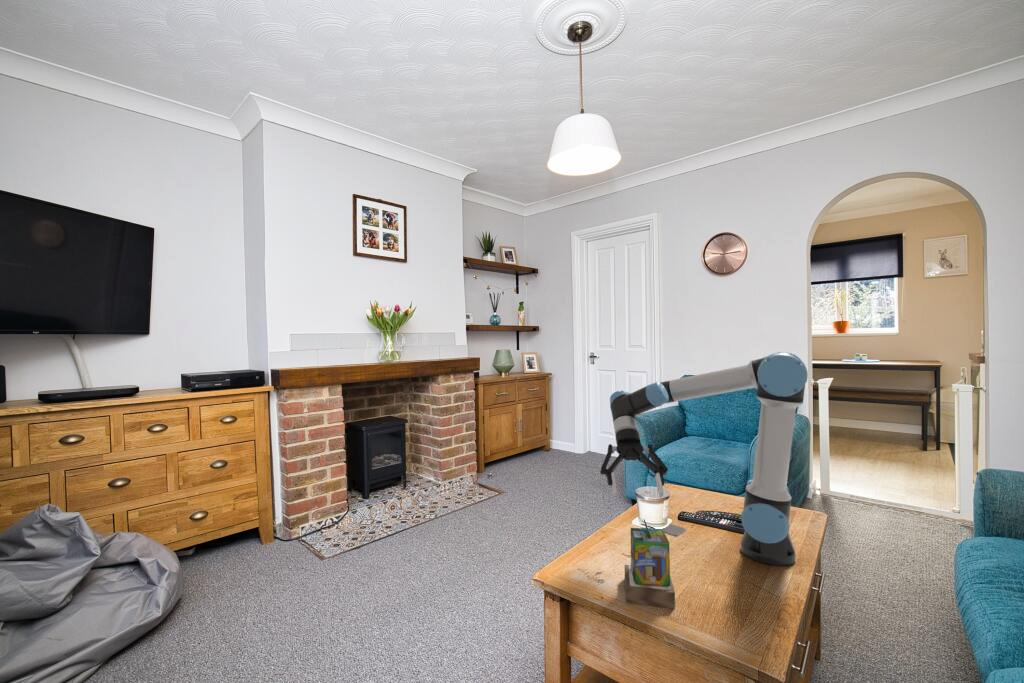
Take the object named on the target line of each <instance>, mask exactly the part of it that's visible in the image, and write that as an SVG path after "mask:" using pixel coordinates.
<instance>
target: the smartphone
mask: <svg viewBox="0 0 1024 683" xmlns="http://www.w3.org/2000/svg"><path fill="white" fill-rule="evenodd" d="M662 530H663V532H664V533H665V532H666V534H668V533H669V534H668V535H671V534H672V535H671V536H674V535H675V536H674V537H679V536H680V534H681V535H682V533H683V532H684V531H687V528H685V527H682V526H679V525H676V524H672V523H670V525H669V526H668V527H666V528H663V529H662ZM684 533H685V532H684ZM684 533H683V534H684ZM678 535H679V536H678Z"/></svg>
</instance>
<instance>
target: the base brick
mask: <svg viewBox="0 0 1024 683" xmlns="http://www.w3.org/2000/svg"><path fill="white" fill-rule="evenodd" d="M624 589H625V600H626V602H625V603H626V604H634V605H642V606H652V607H661V608H668V609H676V593H675V589H674V584H673V581H672V576H671V575H670V586H663V585H645V584H635V582H634V579H633V575H632V571H631V564H624Z"/></svg>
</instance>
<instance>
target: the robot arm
mask: <svg viewBox="0 0 1024 683" xmlns="http://www.w3.org/2000/svg"><path fill="white" fill-rule="evenodd" d="M807 369H808V368H807V367H806V365H805V364H804V362H803V360H802V359H801V358H800V357H799V356H797V355H796V354H793V353H791V352H787V351H780V352H779V351H777V352H775V353H772V354H768V355H767V356H765V357H762V358H758V359H753V360H750V361H749V362H748V364H744V365H741V366H740V365H739V366H736V367H731V368H725V369H721V370H715V371H709V372H706V373H701V374H696V375H691V376H690V375H689V376H685V377H680V378H675V379H672V380H666V381H656V382H654V383H649V384H647V385H646V386H644V387H641V388H639V389H638V390H635V391H633V392H631V393H630V392H629V391H626V390H620V391H619V390H616V391H615V392H614V391H613V393H612V394H611V395H610V397H609V404H610V412H611V417H612V422H613V429H614V434H615V442H616V446H615V445H612V444H611V443H610V444H608V446H607V453H606V454H605V455H606V456H605V458H604V460H603V463H602V465H601V468H600V472H599V474H600V475H605V477H606V480H607V485H608V486H611V490H612V491H611V492H612V497H613V498H616V497H617V494H618V490H617V484H616V478H615V472H614V471H615V470H616V468H617V467H619V465H620V464H621V463H622V461H623V460H625V461H639V462H640V463H642V464H643V465H645V466H646V468H648V469H649V470H650V471H651V472H652V473H653V474H655V476H654V479H655V482H656V488H657V492H658V497H659V498H663V496H664V494H665V492H664V487H663V486H664V485H665V483H666V482H665V478H664V475H667V473H668V471H669V468H668V467H667V466H666V464H665V463H664V462H663V461H662V459H661V458H660V457H659V455H658V454H657V453H656V452H655V450H654V448H653V446H652V445H651V444H649V443H648V445H647V446H643V445H642V443H641V437H640V434H639V427H638V423H637V419H636V418H637V417H636V416H638V415H641V414H643V413H645V412H648V411H650V410H653V409H655V408H658V407H661V406H663V405H665V404H670V403H675V402H680V401H686V400H692V399H699V398H704V397H709V396H715V395H720V394H727V393H732V392H739V391H742V390H743V391H745V390H749V389H755V390H756V396H755V397H756V398H757V399H758V400H759V402H760V403H761V404H760V405H761V406H760V411H759V412H760V413H759V421H758V422H759V423H758V429H757V430H758V431H757V439H756V447H755V448H756V449H755V457H754V464H753V473H752V474H753V475H752V479H749V480H747V482H746V486H745V494H744V499H743V500H744V501H743V509H742V512H741V514H740V518H741V524H742V527H743V529H744V533H743V535H742V538H741V541H740V551H741V553H742V554H744V556H746V557H747V558H749V559H752V560H754V561H756V562H759V563H762V564H767V565H770V566H771V565H772V566H781V567H782V566H790V565H792V564H794V563H795V562H796V549H795V547H794V545H793V542H792V539H791V536H790V515H791V514H790V513H791V508H792V506H791V504H792V498H793V497H792V496H791V494H790V490H789V487H788V485H787V484H788V479H789V478H788V477H789V470H790V469H789V468H790V462H791V461H790V460H791V452H792V444H793V436H794V435H793V434H794V428H795V418H796V410H797V408H798V407H799V406H801V405H802V404H804V400H805V399H804V398H805V391H806V390H805V389H806V383H807V381H808V376H809V375H808V374H809V373H808V370H807ZM615 452H617V454H618V456H617V457H616V458H615V459H614V460H613V462H612V463H611V465H610V466H609V467H608V464H609V463H610V460H611V457H612V454H614V453H615ZM644 452H645V453H644ZM646 454H647V455H648V457H649V458H648V457H647V456H646ZM607 467H608V468H607Z"/></svg>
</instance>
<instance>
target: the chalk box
mask: <svg viewBox="0 0 1024 683" xmlns="http://www.w3.org/2000/svg"><path fill="white" fill-rule="evenodd" d="M643 520H644V523H645V525H644V526H645V527H641V528H639V527H630V565H631V571H632V575H633V579H634V582H635V584H645V585H663V586H670V576H671V564H670V557H671V556H670V541H669V540H668V537H667V535H666V534H665V532H663V530H662V529H653V528H650V527H648V526H647V524H646V522H645V519H643Z"/></svg>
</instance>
